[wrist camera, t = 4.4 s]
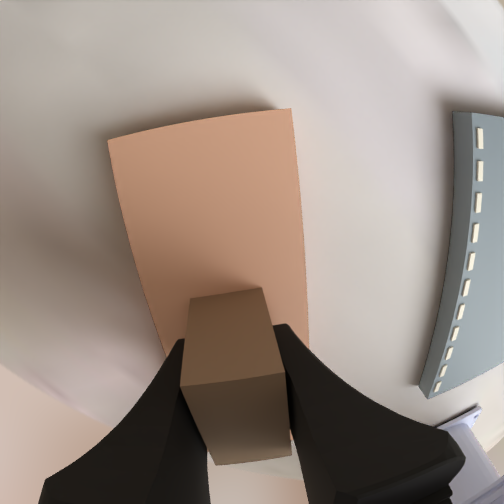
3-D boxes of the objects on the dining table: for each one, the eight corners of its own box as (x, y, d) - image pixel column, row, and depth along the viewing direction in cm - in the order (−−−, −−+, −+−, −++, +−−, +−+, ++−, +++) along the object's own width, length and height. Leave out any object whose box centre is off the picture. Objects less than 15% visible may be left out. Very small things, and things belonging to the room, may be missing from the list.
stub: (305, 422, 15) (328, 498, 10) (207, 437, 15) (209, 516, 10) (284, 110, 9) (343, 95, 5) (117, 138, 9) (36, 152, 4)
